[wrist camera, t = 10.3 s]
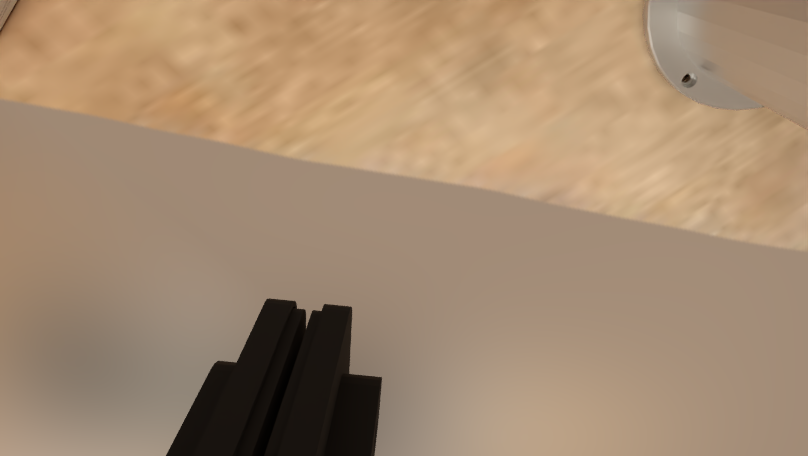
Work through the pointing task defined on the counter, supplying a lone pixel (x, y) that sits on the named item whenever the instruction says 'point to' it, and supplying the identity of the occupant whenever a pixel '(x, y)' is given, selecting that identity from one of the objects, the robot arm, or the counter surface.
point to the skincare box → (5, 10)
